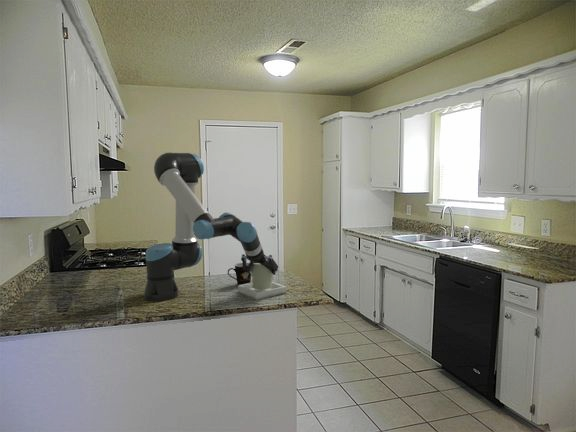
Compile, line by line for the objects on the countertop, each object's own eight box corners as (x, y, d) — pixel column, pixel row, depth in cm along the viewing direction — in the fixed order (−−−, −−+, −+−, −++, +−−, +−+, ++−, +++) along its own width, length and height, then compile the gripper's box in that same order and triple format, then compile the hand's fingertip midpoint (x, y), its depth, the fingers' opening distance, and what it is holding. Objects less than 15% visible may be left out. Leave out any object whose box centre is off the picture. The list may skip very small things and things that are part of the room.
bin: (256, 300, 178) (256, 293, 178) (238, 291, 191) (238, 285, 190) (286, 293, 187) (286, 286, 187) (267, 285, 200) (266, 279, 200)
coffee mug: (254, 282, 207) (253, 262, 205) (250, 287, 198) (250, 266, 197) (231, 281, 208) (231, 262, 207) (227, 286, 199) (226, 266, 198)
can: (260, 282, 195) (260, 258, 194) (276, 285, 190) (275, 260, 188) (248, 287, 187) (247, 261, 186) (263, 290, 182) (263, 264, 181)
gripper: (227, 256, 174) (240, 282, 191) (276, 257, 170) (285, 284, 187) (231, 242, 179) (243, 269, 196) (279, 243, 174) (287, 270, 191)
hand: (263, 276), depth 191 cm, fingers closed on can, 9 cm apart
